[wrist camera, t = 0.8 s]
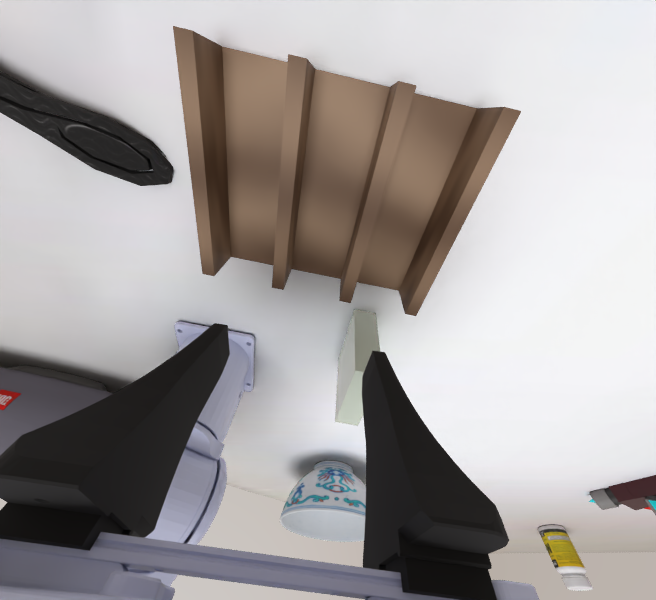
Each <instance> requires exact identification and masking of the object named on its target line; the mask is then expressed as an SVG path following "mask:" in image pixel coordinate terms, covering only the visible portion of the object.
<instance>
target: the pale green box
mask: <svg viewBox="0 0 656 600" xmlns="http://www.w3.org/2000/svg"><path fill="white" fill-rule="evenodd" d="M372 351H379V352H380V346H379V338H378V330H377V321H376V313H371V312H366V311H361V310H356V309H354V312H353V315H352V318H351V321H350V324H349V327H348V331H347V334H346V337H345V340H344V343H343V346H342V349H341V352H340V356H339V359H338V375H337V394H336V412H335V422H339V423H345V424H351V425H356V426H358V424H359V422H360V420H361V418H362V416H363V404H362V376H363V373H364V371H365V368H366V366H367V363H368V361H369V358H370V356H371V353H372Z"/></svg>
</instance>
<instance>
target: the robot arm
mask: <svg viewBox="0 0 656 600" xmlns="http://www.w3.org/2000/svg"><path fill="white" fill-rule="evenodd" d="M174 327H175V331H176V336H177V340H178V345H179V350H178V351H177V352H176V354H175V355H174V356H173V357H171V358H170V359H168V360H167V361H165V362H164V363H163V364H161V365H160V366H158V367H157V368H155V369H154V370H152V371H151V372H149V373H148V374H146V375H145V376H143V377H141V378H140V379H138V380H136V381H135V382H133V383H131V384H130V385H128V386H126V387H124V388H123V389H121V390H119V391H117V392H115V393H113V394H112V395H110V396H108V397H106V398H104V399H102V400H100V401H98V402H96V403H94V404H92V405H90V406H88V407H86V408H84V409H82V410H80V411H77V412H75V413H73V414H71V415H69V416H66V417H64V418H62V419H60V420H57V421H55V422H52V423H50V424H48V425H45V426H43V427H40V428H38V429H36V430H33V431H31V432H28V433H26V434H23V435H21V436H20V437H19V438H18V439H17V440H16V441H15V442H14V443H13V444H12V445H11V446H10V447H8V448H7V449H6V450H5V451H4V452H3V453H2V454H1V455H0V498H1V499H3V500H5V501H6V502H8V503H7V504H6V505H5V506H4V507H3V508H2V509H1V510H0V600H172V598H173V596H174V593H175V589H174V588H172V587H170V586H171V584H172V582H173V581H174V580H175V579H176V577H177V575H185V576H192V577H201V578H208V579H215V580H224V581H231V582H238V583H246V584H254V585H262V586H269V587H277V588H285V589H293V590H300V591H307V592H315V593H322V594H330V595H337V596H345V597H353V598H361V599H365V600H539V598H538V595H537V593H536V590H535V588H534V586H532V585H531V584H526V583H519V582H512V581H505V580H491V578H490V575H489V572H488V569H491V562H490V559H489V556H488V554H489V553H491V552H494V551H496V550H498V549H501V548H503V547H505V546H506V545H507V543H508V541H509V539H508V536H507V533H506V531H505V528H504V525H503V522H502V519H501V517H500V515H499V512H498V510H497V508H496V506H495V504H494V503H493V502H492V501H491V500H490V499H489V498H488V497H487V496H486V495H485V494H484V493H483V492H482V491H481V490H480V489H479V488H478V487H477V486H476V485H475V484H474V483H473V482H472V481H471V480H470V479H469V478H468V477H467V476H466V475H465V474H464V472H463V471H462V470H461V469H460V468H459V467H458V466H457V465H456V464H455V462H454V461H453V460H452V459H451V458H450V456H449V455H448V454H447V453H446V451H445V450H444V449H443V448H442V447H441V445H440V444H439V443H438V442H437V440H436V439H435V438H434V436H433V435H432V434H431V432H430V431H429V429H428V428H427V427H426V425H425V424H424V422H423V421H422V419H421V418H420V416H419V415H418V413H417V412H416V410H415V409H414V407H413V405H412V404H411V402H410V400H409V399H408V397H407V395H406V393H405V392H404V390H403V388H402V386H401V384H400V382H399V380H398V379H397V377H396V375H395V373H394V371H393V368H392V366H391V364H390V362H389V360H388V358H387V356H386V354H385V352H379V351H372V353H371V356H370V358H369V361H368V363H367V366H366V368H365V371H364V373H363V376H362V404H363V415H364V426H365V437H366V509H365V534H364V553H363V568H362V567H355V566H347V565H339V564H332V563H325V562H318V561H310V560H303V559H295V558H288V557H281V556H273V555H266V554H259V553H252V552H245V551H237V550H230V549H222V548H215V547H207V546H200V545H197V544H198V543H199V542H200V540H201V539H202V538H203V536H204V535H205V534H206V532H207V531H208V529H209V527H210V525H211V523H212V522H213V520H214V518H215V516H216V514H217V511H218V509H219V506H220V504H221V501H222V498H223V495H224V491H225V488H226V482H227V471H226V462H225V460H224V459H223V458H221V457H220V455H221V453H222V450H223V448H224V444H223V443H222V442H223V440H224V438H225V437H226V435H227V432H228V430H229V427H230V425H231V422H232V419H233V417H234V414H235V412H236V409H237V407H238V404H239V402H240V399H241V396H242V394H243V391H248V392H251V391H252V390H253V383H254V344H255V339H254V337H253V336H252V335H249V334H244V333H238V332H233V331H228V326H227V325H222V324H216V323H215V324H213V325H212V326H211V327H206V326H201V325H196V324H190V323H185V322H176V324H175V325H174ZM249 342H250V343H249Z"/></svg>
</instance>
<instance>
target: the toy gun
mask: <svg viewBox="0 0 656 600" xmlns="http://www.w3.org/2000/svg"><path fill="white" fill-rule="evenodd" d="M590 495H591V497H592V498H593V499H592V500H590V501H589V502H595V503H596V504H597V505H598V506H599V507H600V508H601V509H602V510H604V509H609V508H614V507H619V505H620V504H624V505H626V506H628V507H630V508H632V509H634V510H639V509H642V508H644V509H649V510H652V511H653V512H654V513H655V515H656V475H654V476H650V477H646V478H642V479H638V480H634V481H630V482H626V483H621V484H617V485H613V486H609V488H607V489H600V490H596V491H592V492H590Z"/></svg>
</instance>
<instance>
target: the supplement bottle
mask: <svg viewBox="0 0 656 600" xmlns="http://www.w3.org/2000/svg"><path fill="white" fill-rule="evenodd" d="M538 530H539V533H540V535H541V537H542V540H543V542H544V544H545V546H546V548H547V551H548V553H549V555H550V557H551V559H552V562H553V564H554V566H555V568H556V570H557V572H558V573H560V574H561V575H562V576H563V577H562V579H563V582H564V584H565V585H566V588H567V589H569V590H578V591H581V590H583V591H584V590H592V589H593V587H592V585H591V583H590V581H589V579H588V578H587V577H586V576H585V574H586V569H585V567H584V565H583V563H582V561H581V559H580V557H579V555H578V553H577V551H576V549H575V547H574V545H573V544H572V542H571V540H570V538H569V536H568V534H567V532H566V530H565V528H564V527H562V526H559V525H546V526H541V527H539V528H538Z"/></svg>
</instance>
